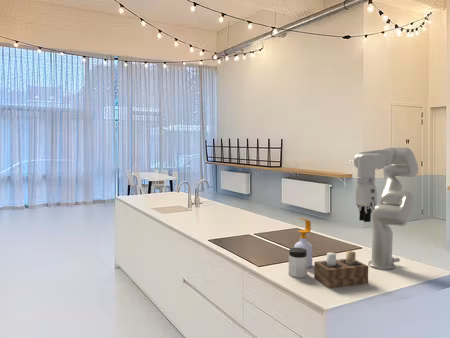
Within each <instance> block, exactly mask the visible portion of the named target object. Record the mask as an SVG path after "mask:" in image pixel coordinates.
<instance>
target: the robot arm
mask: <svg viewBox="0 0 450 338" xmlns="http://www.w3.org/2000/svg"><path fill="white" fill-rule="evenodd" d="M353 165H354V167H355V168H357V177H356V179H357V181H356V189H355V205H356V206H357V208H358V212H359V217H358V218H359V219H358V220H359V221H363V222H364V223H370V222H371V225H372V228H371V229H372V233H371V234H372V236H371V239H372V240H371V260H369V261H368V265H367V266H368V267H369V266H370V267H371V268H374V269H377V270H385V271H388V270H394V269H395V268H396V265H395V263H398V262H400V260H401V259H400V257H394V256H393V238H394V237H393V235H394V234H393V230H392V228H391V227H390V225H392V226H399V227H403V226H406V225H407V224H408V222H409V220H410V216H411V214H412V210H413V207H414V202H415V197H414V195H413V193H412V192H410V191H409V190H402V189H403V184H402V183H401V182H400V180H399V179H398V177H405V178H406V177H408V178H414V177H416V176H417V175H418V173H419V164H418V161H417V159H416V156H415V154H414V152H413V151H412V149H411V148H409V147H387V148H383V149H376V150H370V151H361V152H357V153H356V154H355V156H354V158H353ZM382 169H383V172H382V173H383V177H384V187H383V188H382V189H383V190H382V192H381V194H380V197H379V203H380V204H379V203H378V194H377V193H378V192H377V185H376V183H375V182H376V170H377V171H378V170H382Z"/></svg>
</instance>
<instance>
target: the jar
mask: <svg viewBox="0 0 450 338" xmlns="http://www.w3.org/2000/svg"><path fill="white" fill-rule="evenodd" d="M307 273H308V268H307V250H306V249H303V248H294V247H291V248H289V255H288V276H290V277H293V278H305V277H306V276H307V275H308V274H307Z"/></svg>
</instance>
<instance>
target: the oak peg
mask: <svg viewBox="0 0 450 338" xmlns="http://www.w3.org/2000/svg"><path fill="white" fill-rule="evenodd" d="M356 256H357V255H356V251H353V250H347V251H346V253H345V259H346V263H348V264H355V260H356Z"/></svg>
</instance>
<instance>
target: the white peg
mask: <svg viewBox="0 0 450 338" xmlns="http://www.w3.org/2000/svg"><path fill="white" fill-rule="evenodd" d="M336 260H337V253H335V252H327V253H326V261H327V265H329V266H335V265H336Z"/></svg>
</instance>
